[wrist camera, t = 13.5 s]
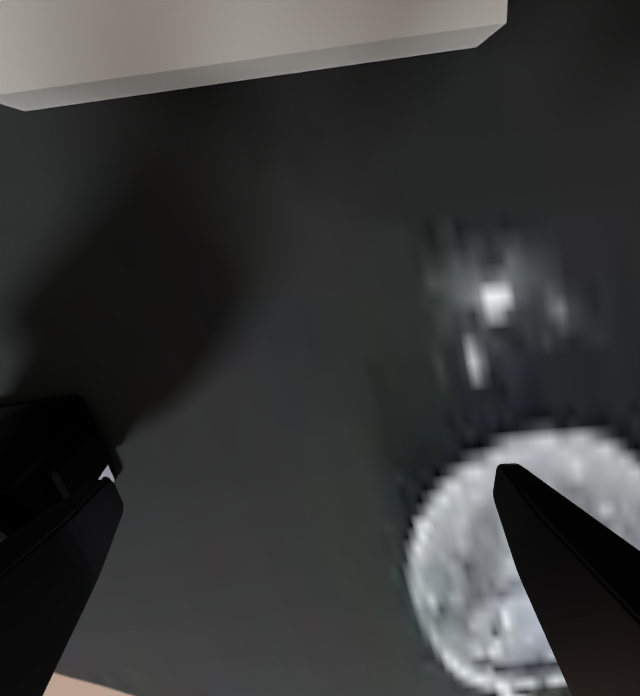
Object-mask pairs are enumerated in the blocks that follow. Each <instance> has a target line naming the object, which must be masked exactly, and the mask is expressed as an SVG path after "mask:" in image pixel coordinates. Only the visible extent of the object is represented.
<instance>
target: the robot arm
mask: <svg viewBox="0 0 640 696" xmlns="http://www.w3.org/2000/svg"><path fill="white" fill-rule="evenodd" d="M71 402H73V403H75V404H76V406H75V405H73V404H72V403H71ZM107 477H109V478H107ZM116 479H117V473H116V471H115V469H114V467H113V464H112V462H111V458H110V456H109V454H108V452H107V449H106V447H105V445H104V443H103V440H102V438H101V436H100V434H99V431H98V429H97V428H96V426H95V424H94V422H93V419H92V417H91V415H90V413H89V410H88V408H87V406H86V404H85V401H84V400H83V398H81V397H80V396H78V395H67V396H60V397H53V398H46V399H39V400H32V401H25V402H18V403H12V404H5V405H0V696H43V694H44V691H45V689H46V687H47V685H48V683H49V681H50V679H51V677H52V675H53V673H54V671H55V668H56V666H57V664H58V662H59V660H60V658H61V656H62V654H63V652H64V650H65V647H66V645H67V643H68V641H69V639H70V637H71V635H72V633H73V631H74V629H75V627H76V624H77V622H78V620H79V618H80V616H81V614H82V612H83V610H84V608H85V606H86V603H87V601H88V599H89V597H90V595H91V593H92V591H93V589H94V586H95V584H96V582H97V580H98V577H99V575H100V572H101V570H102V567H103V565H104V562H105V559H106V557H107V554H108V551H109V549H110V546H111V543H112V541H113V538H114V535H115V532H116V530H117V527H118V524H119V522H120V519H121V516H122V513H123V502H122V500H121V497H120V495H119V493H118V491H117V488H116V486H115V484H114V482H115V480H116ZM493 497H494V502H495V505H496V508H497V511H498V514H499V517H500V520H501V523H502V526H503V529H504V532H505V536H506V539H507V542H508V545H509V548H510V551H511V554H512V557H513V560H514V563H515V566H516V569H517V572H518V574H519V576H520V579H521V581H522V584H523V586H524V588H525V590H526V593H527V595H528V597H529V599H530V602H531V604H532V606H533V609H534V611H535V613H536V615H537V618H538V620H539V622H540V624H541V627H542V629H543V631H544V633H545V636H546V638H547V640H548V642H549V645H550V647H551V649H552V651H553V654H554V656H555V658H556V660H557V663H558V665H559V667H560V670H561V672H562V674H563V676H564V679H565V681H566V683H567V685H568V688H569V690H570V692H571V694H572V696H640V551H639V550H638V549H636V548H635V547H633V546H632V545H631V544H629V543H628V542H626V541H625V540H624V539H622V538H621V537H619V536H618V535H617V534H615V533H614V532H613V531H611V530H610V529H608V528H607V527H606V526H604V525H603V524H601V523H600V522H599V521H597V520H596V519H594V518H593V517H592V516H590V515H589V514H588V513H586V512H585V511H583V510H582V509H581V508H579V507H578V506H576V505H575V504H574V503H572V502H571V501H569V500H568V499H567V498H565V497H564V496H563V495H561V494H560V493H558V492H557V491H556V490H554V489H553V488H551V487H550V486H549V485H547V484H546V483H544V482H543V481H542V480H540V479H539V478H538V477H536V476H535V475H533V474H532V473H531V472H529V471H528V470H526V469H525V468H524V467H522V466H521V465H519V464H515V463H513V464H500V465H498V467H497V469H496V476H495V482H494V489H493Z"/></svg>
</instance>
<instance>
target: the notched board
mask: <svg viewBox="0 0 640 696" xmlns="http://www.w3.org/2000/svg"><path fill="white" fill-rule="evenodd" d="M507 2H508V0H0V104H3V105H6V106H9V107H13V108H16V109H19V110H22V111H31V110H38V109H45V108H52V107H59V106H66V105H73V104H80V103H87V102H94V101H101V100H108V99H116V98H123V97H130V96H137V95H144V94H151V93H158V92H165V91H172V90H179V89H186V88H193V87H200V86H207V85H214V84H221V83H228V82H235V81H242V80H249V79H256V78H263V77H270V76H277V75H284V74H291V73H299V72H306V71H313V70H320V69H327V68H334V67H341V66H348V65H355V64H362V63H369V62H376V61H383V60H390V59H397V58H404V57H411V56H418V55H425V54H432V53H439V52H446V51H453V50H460V49H467V48H475V47H477V46H479V45H480V44H481V43H482V42H484V41H485V40H486V39H487V38H488V37H490V36H491V35H492V34H493V33H495V32H496V31H497V30H498V29H499V28H501V27H502V26H503V25H504V24H506V21H507Z"/></svg>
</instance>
